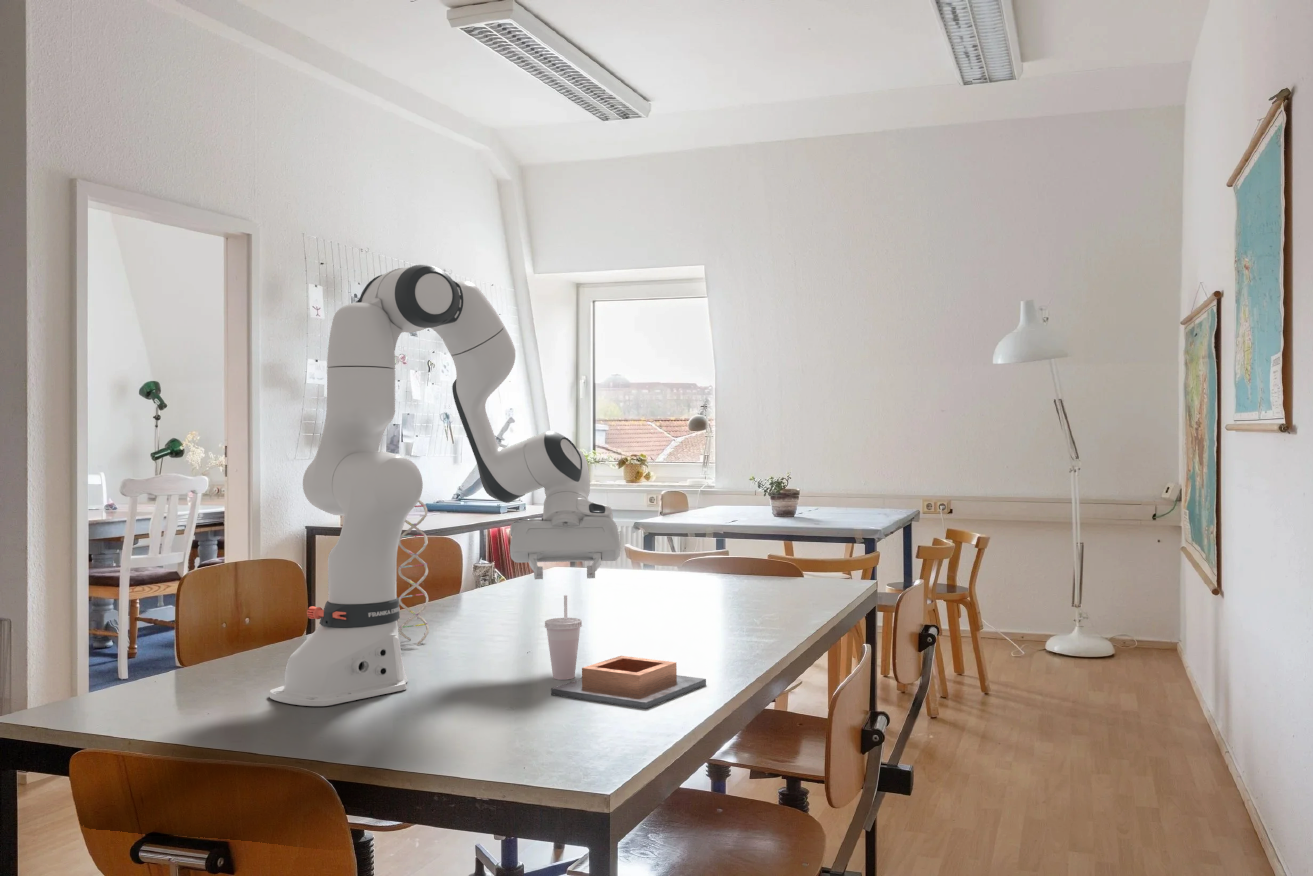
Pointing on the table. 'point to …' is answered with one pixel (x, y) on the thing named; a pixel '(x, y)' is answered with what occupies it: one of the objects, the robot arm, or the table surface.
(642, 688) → the mount
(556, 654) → the smoothie
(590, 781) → the table surface
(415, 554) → the dna model
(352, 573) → the robot arm
